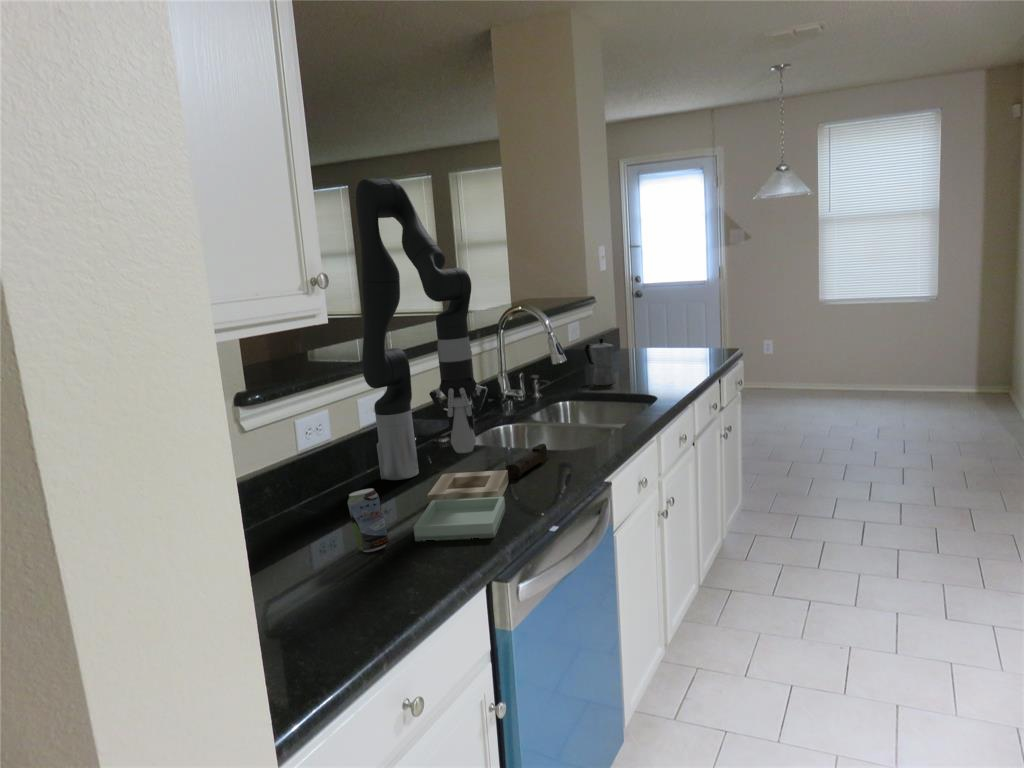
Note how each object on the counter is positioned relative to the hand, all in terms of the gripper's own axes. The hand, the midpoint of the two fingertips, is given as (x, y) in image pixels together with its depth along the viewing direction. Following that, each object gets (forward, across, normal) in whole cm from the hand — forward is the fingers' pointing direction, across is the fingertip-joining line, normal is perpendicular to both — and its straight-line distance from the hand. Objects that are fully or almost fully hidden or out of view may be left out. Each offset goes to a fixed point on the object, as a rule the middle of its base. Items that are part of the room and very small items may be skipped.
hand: (462, 431), depth 176 cm
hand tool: (+16, +12, +19) cm, 27 cm away
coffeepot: (+16, +29, +132) cm, 136 cm away
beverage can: (+15, -14, -31) cm, 37 cm away
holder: (+15, 0, 0) cm, 15 cm away
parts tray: (+15, +2, -20) cm, 25 cm away
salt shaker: (+5, 0, 0) cm, 5 cm away
